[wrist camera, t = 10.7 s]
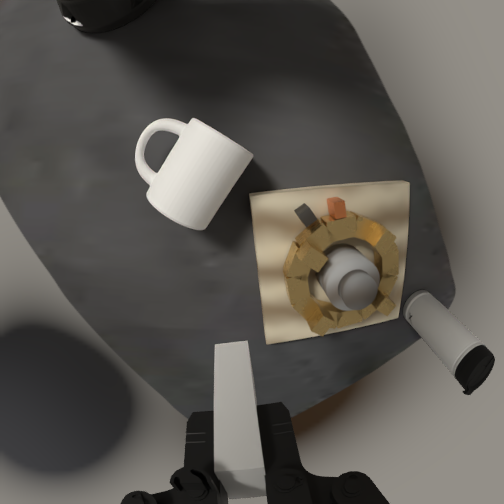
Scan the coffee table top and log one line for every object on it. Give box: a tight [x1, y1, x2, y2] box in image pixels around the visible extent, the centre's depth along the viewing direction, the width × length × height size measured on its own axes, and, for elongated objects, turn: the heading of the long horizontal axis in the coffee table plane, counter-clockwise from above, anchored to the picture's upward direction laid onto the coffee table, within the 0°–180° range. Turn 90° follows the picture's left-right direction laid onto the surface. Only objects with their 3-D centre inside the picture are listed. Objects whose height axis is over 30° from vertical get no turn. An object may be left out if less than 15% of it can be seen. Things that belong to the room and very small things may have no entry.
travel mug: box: [403, 290, 495, 395], centre depth 37 cm, size 6×7×20 cm
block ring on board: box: [249, 180, 410, 344], centre depth 37 cm, size 22×22×10 cm
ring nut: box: [283, 197, 399, 336], centre depth 37 cm, size 16×18×5 cm
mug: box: [135, 118, 253, 230], centre depth 31 cm, size 12×10×8 cm
